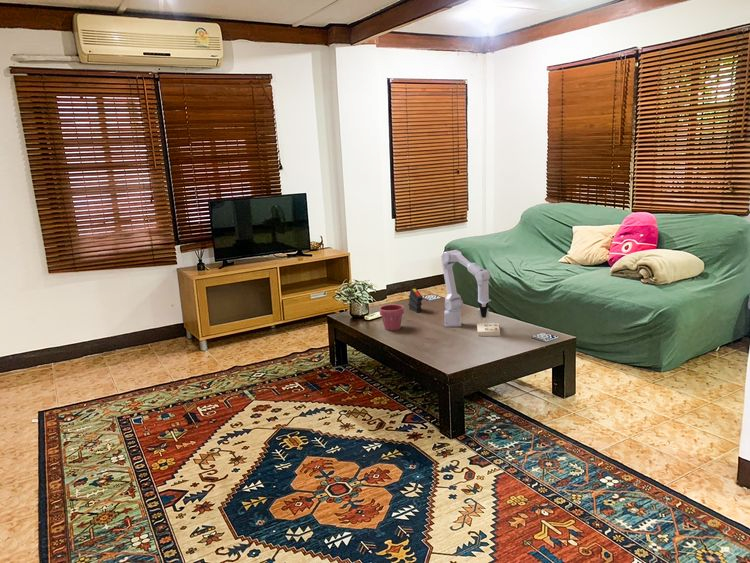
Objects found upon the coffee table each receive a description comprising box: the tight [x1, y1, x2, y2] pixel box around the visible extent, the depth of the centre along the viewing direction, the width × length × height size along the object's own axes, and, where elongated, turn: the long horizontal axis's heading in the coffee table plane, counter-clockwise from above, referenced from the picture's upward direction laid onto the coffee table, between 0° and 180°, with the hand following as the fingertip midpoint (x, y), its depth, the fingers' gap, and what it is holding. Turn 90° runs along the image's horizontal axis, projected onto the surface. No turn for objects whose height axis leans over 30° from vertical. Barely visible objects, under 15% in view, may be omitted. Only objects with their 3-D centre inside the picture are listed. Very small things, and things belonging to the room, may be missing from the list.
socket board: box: [476, 322, 501, 337], centre depth 318 cm, size 12×15×3 cm
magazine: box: [408, 286, 424, 313], centre depth 366 cm, size 4×13×15 cm, turn 24°
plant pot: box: [379, 304, 405, 331], centre depth 332 cm, size 14×14×13 cm
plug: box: [477, 307, 490, 323], centre depth 313 cm, size 6×4×7 cm
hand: (483, 315), depth 314 cm, fingers closed on plug, 4 cm apart
